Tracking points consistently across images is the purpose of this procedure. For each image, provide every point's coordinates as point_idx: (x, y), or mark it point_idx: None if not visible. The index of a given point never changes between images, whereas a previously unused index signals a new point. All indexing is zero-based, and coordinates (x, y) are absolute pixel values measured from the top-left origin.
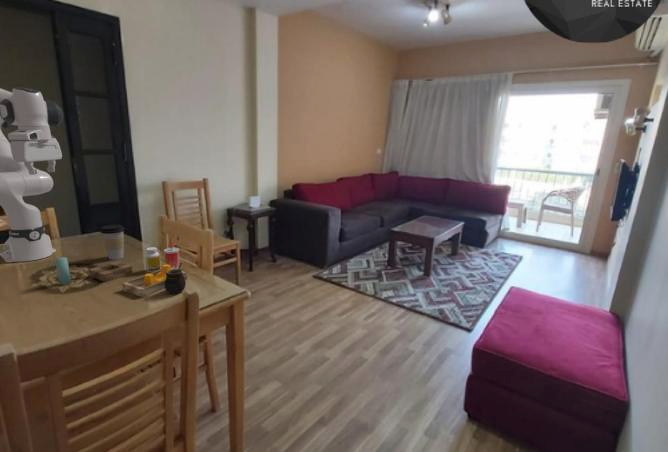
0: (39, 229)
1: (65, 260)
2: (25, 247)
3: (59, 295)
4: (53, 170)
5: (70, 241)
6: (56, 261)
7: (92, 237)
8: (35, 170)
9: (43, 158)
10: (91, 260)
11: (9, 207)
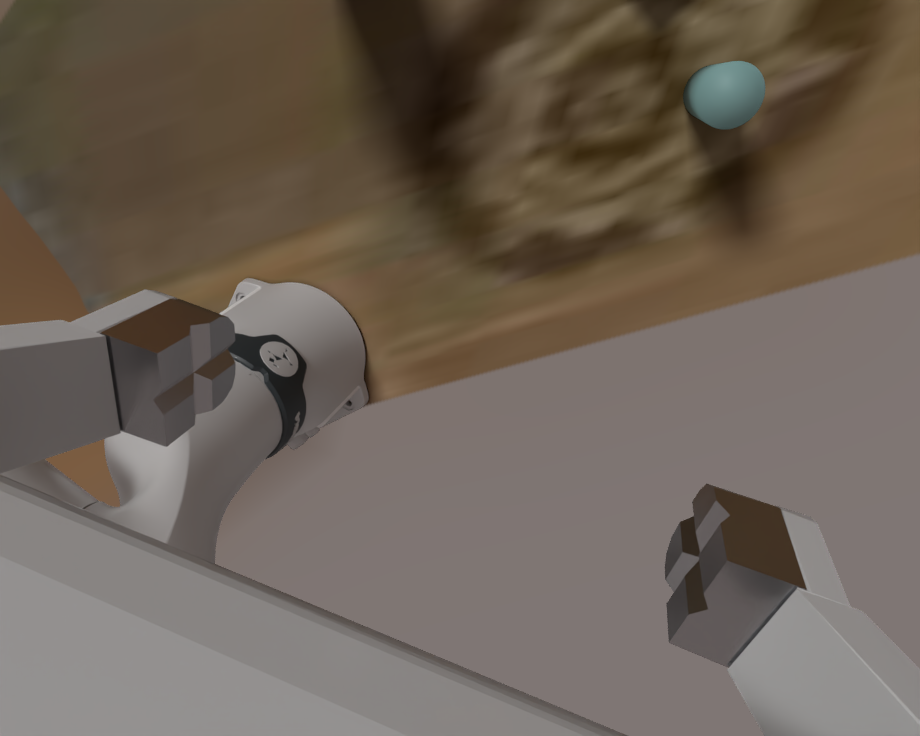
0: (243, 352)
1: (750, 65)
2: (327, 369)
3: (894, 60)
4: (172, 308)
5: (121, 262)
6: (751, 115)
7: (56, 184)
8: (773, 557)
9: (377, 734)
10: (386, 72)
11: (219, 515)
